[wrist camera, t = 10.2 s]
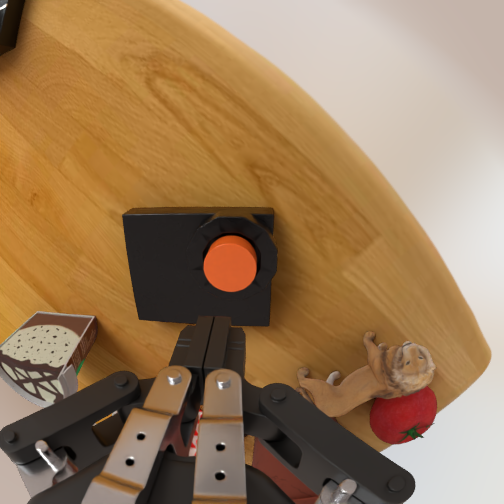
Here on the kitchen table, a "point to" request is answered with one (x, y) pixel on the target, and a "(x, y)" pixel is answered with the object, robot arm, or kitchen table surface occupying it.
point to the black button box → (197, 263)
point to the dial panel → (9, 23)
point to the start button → (230, 263)
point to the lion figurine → (372, 378)
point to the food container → (47, 355)
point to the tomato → (403, 416)
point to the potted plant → (282, 475)
